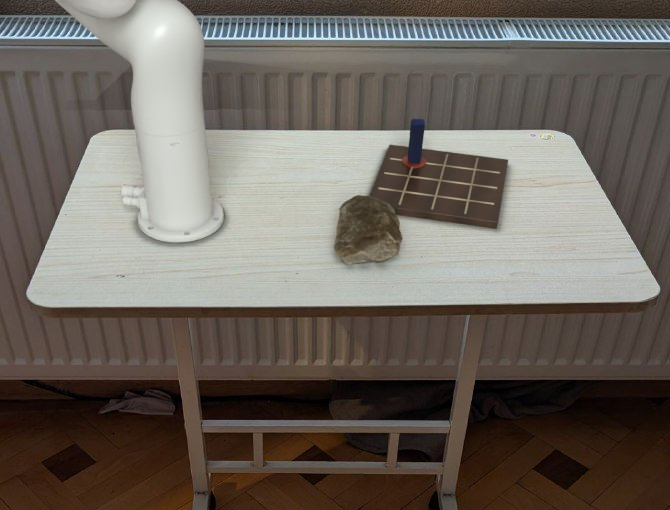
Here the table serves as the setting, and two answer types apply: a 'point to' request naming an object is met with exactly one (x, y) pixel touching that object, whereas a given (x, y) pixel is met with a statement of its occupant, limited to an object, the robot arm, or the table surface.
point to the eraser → (416, 140)
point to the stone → (367, 231)
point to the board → (442, 186)
